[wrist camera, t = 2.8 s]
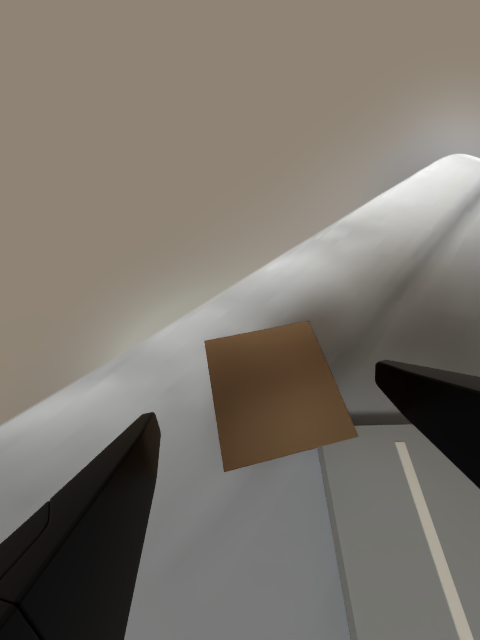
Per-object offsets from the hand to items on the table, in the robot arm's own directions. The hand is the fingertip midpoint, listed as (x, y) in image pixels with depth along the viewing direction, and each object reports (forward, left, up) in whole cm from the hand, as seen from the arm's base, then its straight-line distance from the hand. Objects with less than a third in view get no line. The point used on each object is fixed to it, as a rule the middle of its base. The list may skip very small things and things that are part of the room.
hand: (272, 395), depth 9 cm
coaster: (-10, -4, -8) cm, 13 cm away
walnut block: (0, 0, -8) cm, 8 cm away
